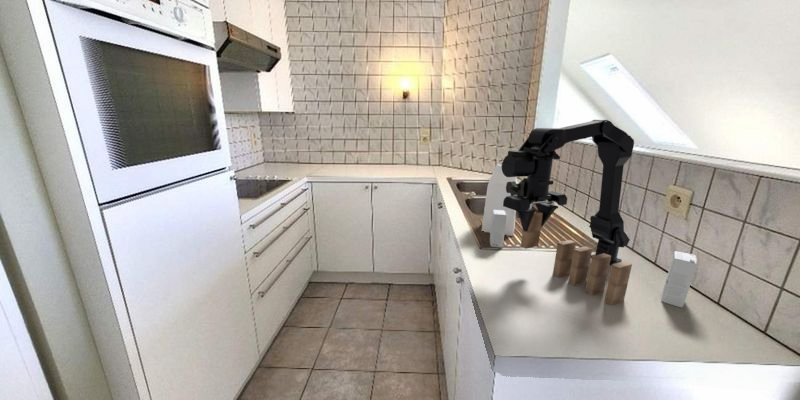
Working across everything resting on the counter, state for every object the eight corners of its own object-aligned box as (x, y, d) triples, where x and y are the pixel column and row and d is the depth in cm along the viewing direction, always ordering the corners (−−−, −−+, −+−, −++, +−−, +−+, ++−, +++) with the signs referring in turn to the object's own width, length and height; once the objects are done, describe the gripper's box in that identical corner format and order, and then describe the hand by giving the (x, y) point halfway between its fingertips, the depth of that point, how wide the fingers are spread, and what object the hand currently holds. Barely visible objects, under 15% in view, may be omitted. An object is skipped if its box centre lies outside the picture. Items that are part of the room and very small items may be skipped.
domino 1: (533, 243, 93) (537, 211, 90) (538, 245, 91) (542, 212, 89) (520, 246, 91) (524, 213, 88) (525, 248, 89) (529, 215, 87)
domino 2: (564, 271, 94) (569, 239, 91) (569, 273, 92) (575, 242, 89) (552, 274, 91) (557, 242, 89) (558, 277, 90) (563, 244, 87)
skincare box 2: (661, 292, 83) (672, 249, 80) (684, 298, 80) (696, 254, 77) (660, 302, 78) (672, 257, 75) (684, 309, 76) (697, 263, 73)
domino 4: (597, 287, 85) (604, 253, 82) (604, 290, 83) (611, 255, 81) (585, 291, 83) (591, 256, 80) (591, 294, 81) (598, 259, 79)
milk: (481, 231, 125) (487, 166, 118) (485, 222, 135) (490, 162, 129) (513, 236, 121) (521, 168, 114) (514, 226, 131) (521, 164, 124)
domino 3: (580, 278, 89) (586, 246, 87) (586, 281, 88) (592, 248, 85) (568, 282, 87) (573, 249, 84) (574, 285, 85) (580, 251, 83)
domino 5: (616, 296, 80) (624, 260, 78) (623, 300, 79) (632, 264, 76) (604, 301, 78) (611, 264, 76) (611, 305, 77) (619, 267, 74)
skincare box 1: (503, 248, 109) (506, 215, 106) (490, 246, 110) (493, 214, 107) (501, 241, 115) (504, 210, 112) (489, 240, 116) (492, 209, 113)
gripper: (539, 169, 97) (533, 217, 101) (491, 172, 89) (487, 225, 93) (572, 175, 87) (563, 228, 91) (522, 180, 79) (515, 238, 83)
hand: (531, 229), depth 90 cm, fingers closed on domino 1, 5 cm apart
